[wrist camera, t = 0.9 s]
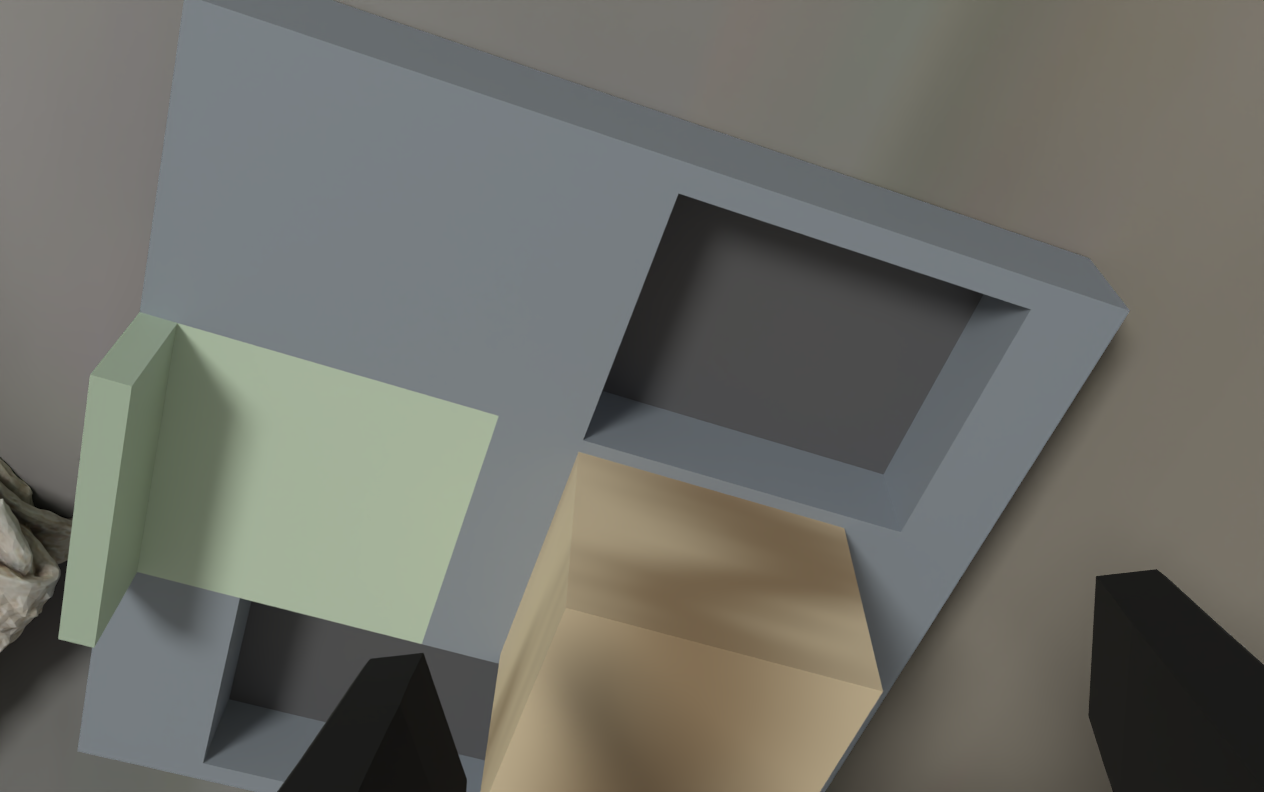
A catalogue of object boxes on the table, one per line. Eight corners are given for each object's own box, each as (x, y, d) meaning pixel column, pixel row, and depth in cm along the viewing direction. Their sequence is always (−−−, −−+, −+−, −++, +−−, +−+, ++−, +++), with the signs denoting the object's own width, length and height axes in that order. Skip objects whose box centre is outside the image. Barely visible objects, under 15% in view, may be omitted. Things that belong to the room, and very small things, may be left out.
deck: (1089, 258, 21) (1177, 374, 17) (746, 831, 28) (761, 988, 25) (227, -36, 18) (131, 31, 15) (114, 680, 26) (35, 832, 23)
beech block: (844, 528, 21) (883, 691, 18) (740, 715, 24) (757, 890, 20) (578, 451, 20) (565, 607, 17) (500, 653, 23) (475, 825, 19)
